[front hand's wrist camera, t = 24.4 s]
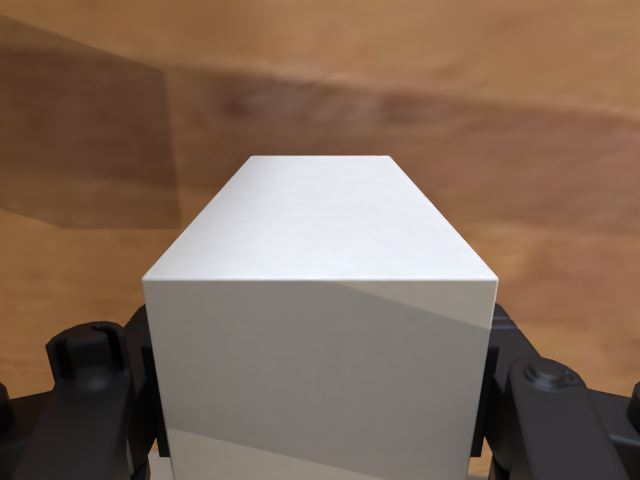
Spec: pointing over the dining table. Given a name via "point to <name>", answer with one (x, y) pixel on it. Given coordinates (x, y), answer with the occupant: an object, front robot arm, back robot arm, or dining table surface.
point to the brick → (320, 328)
